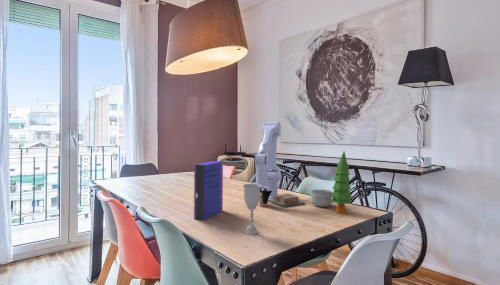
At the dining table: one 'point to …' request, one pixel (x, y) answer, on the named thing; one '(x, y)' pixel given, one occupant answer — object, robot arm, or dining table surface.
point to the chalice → (251, 203)
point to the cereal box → (208, 189)
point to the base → (286, 200)
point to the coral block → (261, 201)
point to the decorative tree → (341, 186)
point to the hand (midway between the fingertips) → (261, 202)
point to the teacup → (321, 197)
